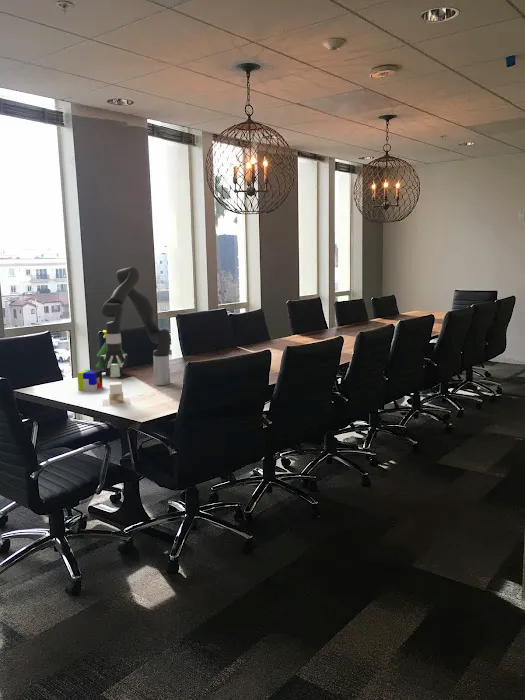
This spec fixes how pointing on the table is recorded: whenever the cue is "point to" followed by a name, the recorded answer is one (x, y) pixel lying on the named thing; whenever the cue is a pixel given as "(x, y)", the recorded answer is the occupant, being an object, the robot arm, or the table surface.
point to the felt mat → (107, 403)
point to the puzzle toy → (90, 380)
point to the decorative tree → (103, 352)
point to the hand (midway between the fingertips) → (115, 374)
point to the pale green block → (114, 370)
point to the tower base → (116, 398)
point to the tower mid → (115, 388)
